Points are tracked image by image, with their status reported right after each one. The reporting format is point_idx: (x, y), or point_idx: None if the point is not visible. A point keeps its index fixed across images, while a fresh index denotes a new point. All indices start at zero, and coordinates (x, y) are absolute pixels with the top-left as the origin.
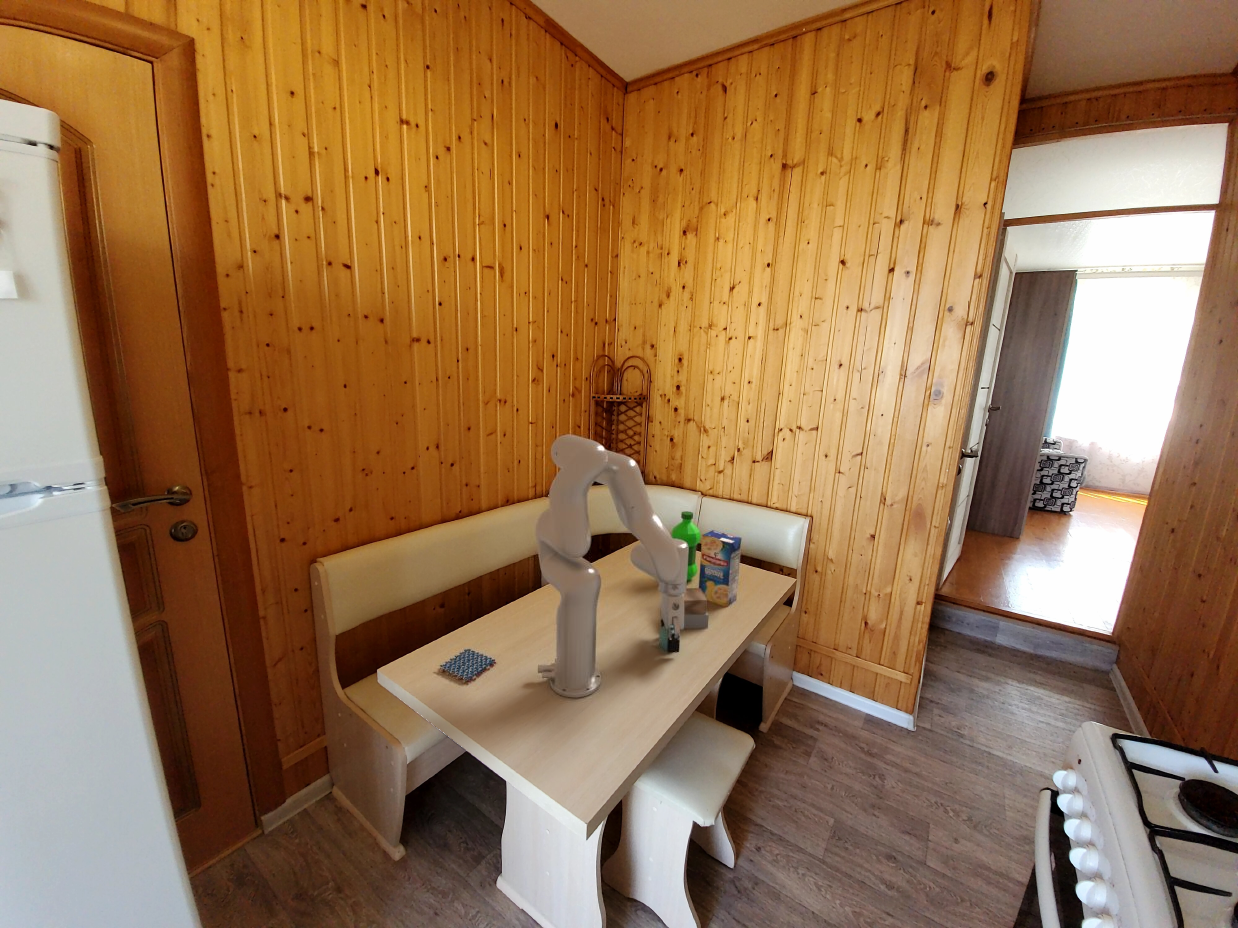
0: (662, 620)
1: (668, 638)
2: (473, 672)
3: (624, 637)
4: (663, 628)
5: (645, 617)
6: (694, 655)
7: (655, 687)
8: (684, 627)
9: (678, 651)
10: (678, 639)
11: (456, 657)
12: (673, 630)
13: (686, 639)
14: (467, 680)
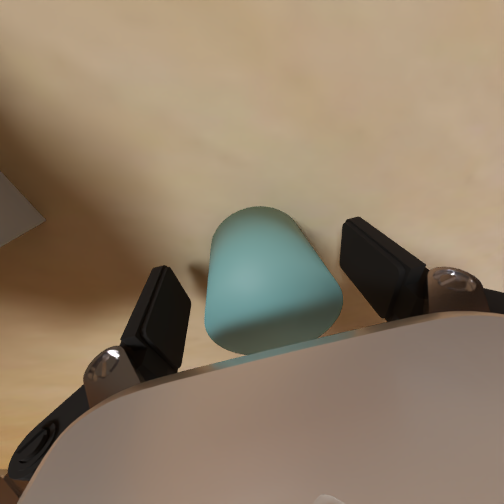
0: (175, 370)
1: (394, 320)
2: None
3: (229, 359)
4: (256, 345)
5: (59, 346)
6: (333, 107)
7: (484, 264)
8: (4, 182)
9: (358, 219)
10: (459, 279)
11: None
12: (274, 302)
13: (157, 164)
14: None
